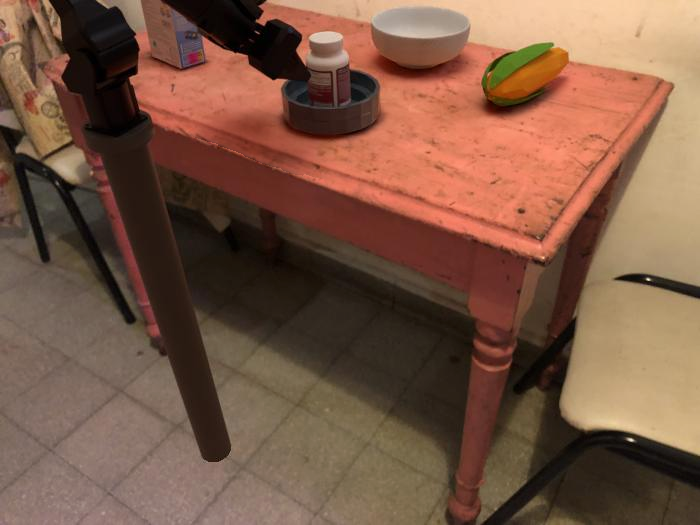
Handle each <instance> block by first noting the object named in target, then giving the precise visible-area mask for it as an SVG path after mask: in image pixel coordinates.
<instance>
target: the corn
mask: <svg viewBox="0 0 700 525" xmlns="http://www.w3.org/2000/svg"><path fill="white" fill-rule="evenodd" d="M569 63H570V55H569V51H567V50H565V49H564V48H561V47H560V46H558V47H555V42H550V41H549V42H540V43H534V44H531V45H528V46H525V47H522V48H520V49H518V50H516V51H510V52H505V53H504V54H501V55H500V56H498V57H496V58H495V59H494V60H493V61H491V62H490V63H489V64H488V65H487V67H486V69H485V70H484V73H483V75H482V78H481V81H480V82H481V83H480V85H481V86H482V91H483V93H484V96H485V98H486V100H487V102H488V103H493V104H494V105H497V106H499V107H506V106H507V107H508V106H513V105H517V104H521V103H525V102H526V101H529V100H531V99H533V98H535V97H538V96H539V95H540V94H542V93H543V92H545V91H547V90H548V89H549V88H551V87H553V84H551V85H550V86H547V85H548V84H549V83H551V82H552V81H553V80H555V79H556V78H557V77H558V76H559V75H560V74H561V73H562V71H563V70H564V69H565V67H567V65H568V64H569ZM545 86H547V87H545Z"/></svg>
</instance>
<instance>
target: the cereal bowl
mask: <svg viewBox="0 0 700 525" xmlns="http://www.w3.org/2000/svg"><path fill="white" fill-rule="evenodd" d="M470 33H471V19H470V18H469V16H467V15H465V14H464V13H462V12H460V11H458V10H454V9H450V8H447V7H439V6H433V5H402V6H396V7H390V8H386V9H384V10H381V11H379V12H377V13H376V14H374V15H373V16H372V18H371V22H370V35H371V40H372V44H373V46H374V47H375V49H376V50H377V52H378V53H379V54H380V55H382V56H383V57H384V58H386V59H388V60H390V62H391V61H392V62H395V63H396V64H397V65H399V66H401V67H403V68H406V69H409V70H410V69H411V70H426V69H431V68H434V67H438V65H440V64H444V63H447V62H449V61H451V60H452V59H455V58H456V57H457V56H458V55H460V54H461V53H462V52H463V50H464V49H465V47H466V46H467V43H468V41H469V37H470Z"/></svg>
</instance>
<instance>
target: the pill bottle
mask: <svg viewBox="0 0 700 525" xmlns="http://www.w3.org/2000/svg"><path fill="white" fill-rule="evenodd" d="M308 46H309V49H310V51H309V52H308V53H307V54H306V56H305V66H306V67H307V69H308V70H309V72H310V73H311V78H310V79H309V81H308V82H307V85H308V96H309V105H311V106H317V107H335V106H345V105H349V104H351V92H350V69H351V67H350V56H349V53H348V52H347V51H346V50H345V49H343V48H344V36H343V35H342V34H341V33H339V32H337V31H329V30H328V31H319V32H314V33H312V34H311V35H309V37H308Z"/></svg>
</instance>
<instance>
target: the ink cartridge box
mask: <svg viewBox="0 0 700 525" xmlns="http://www.w3.org/2000/svg"><path fill="white" fill-rule="evenodd" d="M140 6H141V11H142V15H143V19H144V23H145V28H146V33H147V38H148V43H149V48H150V53H151V57H153V58H155V59H157V60H160V61H162V62H164V63H167V64H169V65H172V66H174V67H176V68H178V69H180V70H181V69H186V68H189V67H192V66H196V65H199V64H204V63H206V61H207V59H206V53H205V48H204V42H203V36H202V35H200V34H199V33H198V30H197V27H196V26H194V25H193V24H191V23H190V22H189V21H187V20H186V18H185V17H183V16H182V15H180V14H179V13H178V12H176V11H175V10H173V9H172V8H171V7H169V6H168V5H167V4H165V3H164V2H162V1H161V0H140Z"/></svg>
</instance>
